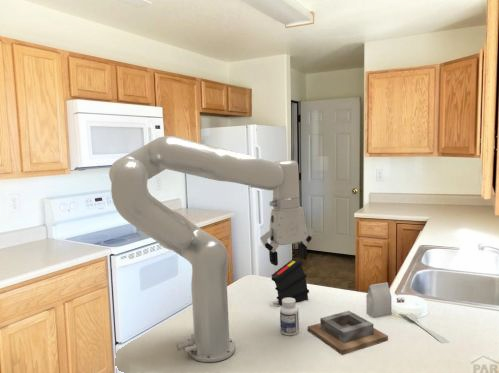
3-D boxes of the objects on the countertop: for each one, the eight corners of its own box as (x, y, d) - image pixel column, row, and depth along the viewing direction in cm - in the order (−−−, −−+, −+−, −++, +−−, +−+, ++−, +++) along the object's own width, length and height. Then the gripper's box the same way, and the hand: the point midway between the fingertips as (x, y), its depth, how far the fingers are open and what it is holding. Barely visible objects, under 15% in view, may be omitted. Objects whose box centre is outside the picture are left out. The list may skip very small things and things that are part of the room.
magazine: (316, 293, 143) (300, 259, 138) (288, 316, 138) (271, 281, 134) (310, 290, 146) (294, 257, 142) (282, 312, 141) (265, 278, 137)
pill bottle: (287, 325, 122) (286, 295, 121) (302, 330, 118) (301, 298, 117) (277, 332, 118) (275, 300, 117) (292, 337, 114) (291, 304, 113)
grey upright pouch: (391, 314, 127) (391, 284, 126) (373, 318, 125) (373, 287, 124) (383, 310, 131) (383, 280, 130) (366, 313, 128) (366, 283, 127)
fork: (442, 353, 108) (443, 344, 107) (395, 314, 128) (396, 306, 127) (450, 351, 109) (451, 342, 108) (403, 313, 128) (403, 305, 128)
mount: (342, 354, 104) (341, 339, 104) (307, 330, 118) (307, 316, 118) (388, 339, 111) (388, 325, 110) (350, 318, 125) (350, 305, 125)
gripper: (265, 208, 107) (268, 270, 109) (319, 201, 115) (320, 259, 116) (253, 205, 114) (256, 263, 116) (304, 199, 121) (306, 253, 123)
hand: (288, 261), depth 116 cm, fingers open, 9 cm apart
